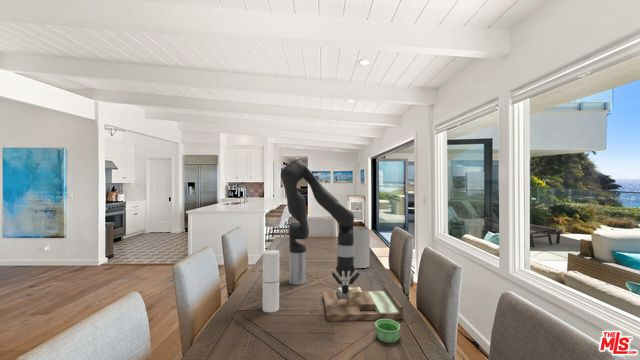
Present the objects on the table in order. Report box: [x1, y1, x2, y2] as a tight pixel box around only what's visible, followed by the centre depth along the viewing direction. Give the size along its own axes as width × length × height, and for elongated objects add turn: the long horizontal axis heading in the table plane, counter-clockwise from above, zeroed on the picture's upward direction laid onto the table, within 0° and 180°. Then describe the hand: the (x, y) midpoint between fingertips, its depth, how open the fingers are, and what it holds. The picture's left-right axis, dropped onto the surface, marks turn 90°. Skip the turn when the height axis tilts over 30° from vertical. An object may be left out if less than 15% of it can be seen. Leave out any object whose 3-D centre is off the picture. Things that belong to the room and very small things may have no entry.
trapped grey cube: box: [336, 286, 348, 299], centre depth 131 cm, size 6×6×6 cm
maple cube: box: [348, 286, 363, 305], centre depth 124 cm, size 6×6×6 cm
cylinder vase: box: [353, 226, 371, 269], centre depth 185 cm, size 12×12×25 cm
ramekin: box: [374, 319, 401, 343], centre depth 101 cm, size 9×9×4 cm
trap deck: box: [322, 285, 404, 322], centre depth 125 cm, size 31×24×5 cm
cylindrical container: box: [262, 249, 280, 313], centre depth 122 cm, size 7×7×25 cm
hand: (345, 293), depth 124 cm, fingers closed
